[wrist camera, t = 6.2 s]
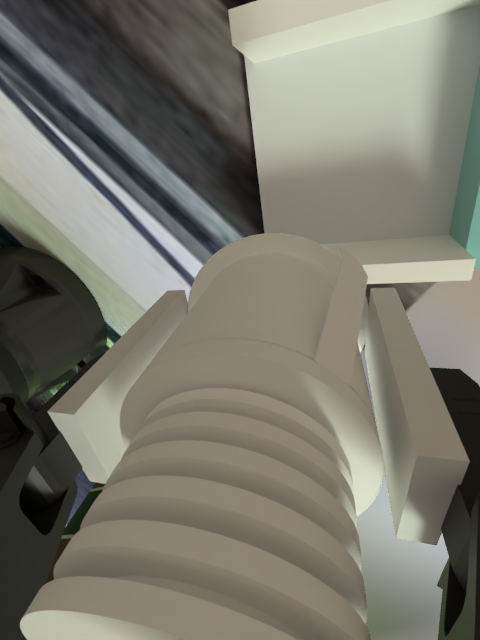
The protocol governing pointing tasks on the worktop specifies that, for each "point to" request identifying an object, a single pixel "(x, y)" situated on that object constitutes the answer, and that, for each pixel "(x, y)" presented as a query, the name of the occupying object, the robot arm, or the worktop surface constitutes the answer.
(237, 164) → the worktop surface
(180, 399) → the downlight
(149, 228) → the worktop surface
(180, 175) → the worktop surface
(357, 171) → the holder
